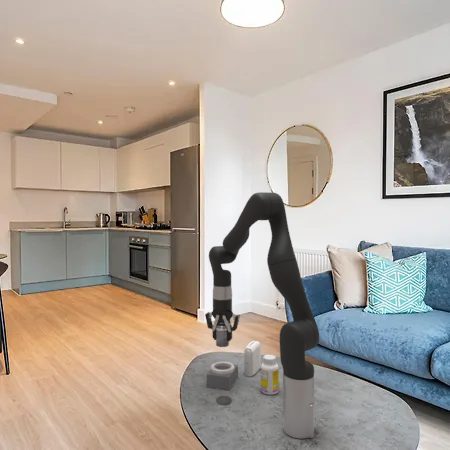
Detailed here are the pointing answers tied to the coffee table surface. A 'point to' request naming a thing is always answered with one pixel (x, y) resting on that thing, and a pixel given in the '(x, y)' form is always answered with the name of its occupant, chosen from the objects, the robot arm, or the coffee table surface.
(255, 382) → the coffee table surface
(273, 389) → the supplement bottle
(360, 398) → the coffee table surface
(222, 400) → the lens cap
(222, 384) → the camera body
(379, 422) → the coffee table surface
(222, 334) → the lens
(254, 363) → the photo printer
